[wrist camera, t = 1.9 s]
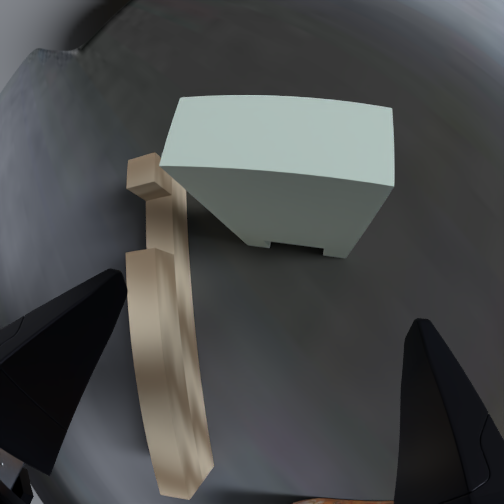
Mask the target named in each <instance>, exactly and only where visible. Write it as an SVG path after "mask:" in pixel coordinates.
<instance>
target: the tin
mask: <svg viewBox="0 0 504 504" xmlns="http://www.w3.org/2000/svg"><path fill="white" fill-rule="evenodd" d="M393 503H394V501H361V500H343V499H331V498H314V499H306V500H301V501H297V502H294V503H292V504H393Z"/></svg>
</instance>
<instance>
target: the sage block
mask: <svg viewBox="0 0 504 504" xmlns="http://www.w3.org/2000/svg"><path fill="white" fill-rule="evenodd" d="M159 166H160V167H161V168H162V169H163V170H164V171H165V172H166V173H168V174H169V175H170V176H171V177H172V178H173V179H174V180H175V181H177V182H178V183H179V184H180V185H181V186H182V187H183V188H184V189H185V190H187V191H188V192H189V193H190V194H191V195H192V196H193V197H194V198H195V199H197V200H198V201H199V202H200V203H201V204H202V205H203V206H204V207H206V208H207V209H208V210H209V211H210V212H211V213H212V214H213V215H214V216H216V217H217V218H218V219H219V220H220V221H221V222H222V223H223V224H224V225H226V226H227V227H228V228H229V229H230V230H231V231H232V232H233V233H235V234H236V235H237V236H238V237H239V238H240V239H241V240H242V241H243V242H245V243H246V244H247V245H249V246H256V247H264V248H270V244H271V242H279V243H286V244H294V245H301V246H309V247H316V248H324V251H323V256H331V257H338V258H345V259H346V257H347V256H348V254H349V253H350V252H351V250H352V249H353V247H354V246H355V245H356V243H357V242H358V240H359V239H360V237H361V236H362V234H363V233H364V232H365V230H366V229H367V227H368V226H369V224H370V223H371V221H372V220H373V218H374V217H375V215H376V214H377V212H378V211H379V209H380V208H381V206H382V205H383V203H384V202H385V200H386V199H387V197H388V195H389V194H390V192H391V191H392V189H393V188H394V134H393V116H392V108H387V107H381V106H375V105H369V104H362V103H355V102H347V101H339V100H329V99H319V98H306V97H290V96H265V95H225V96H199V97H183V98H180V100H179V103H178V106H177V109H176V112H175V115H174V118H173V121H172V124H171V127H170V130H169V134H168V137H167V140H166V143H165V147H164V150H163V154H162V157H161V160H160V164H159Z"/></svg>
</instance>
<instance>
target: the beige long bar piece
mask: <svg viewBox="0 0 504 504" xmlns="http://www.w3.org/2000/svg"><path fill="white" fill-rule="evenodd" d="M160 160H161V158H160V157H159V156H158V155H157V154H156V153H151V154H148V155H144V156H141V157H138V158H134V159H131V160H128V170H127V189H128V190H129V191H131V192H132V193H134V194H136V195H137V196H139V197H140V198H142V199H144V200H145V201H146V247H147V249H145V250H139V251H133V252H127V253H126V278H127V289H128V294H127V297H128V312H129V324H130V335H131V344H132V353H133V361H134V369H135V376H136V383H137V389H138V396H139V402H140V407H141V413H142V418H143V423H144V428H145V433H146V438H147V443H148V447H149V451H150V456H151V460H152V464H153V468H154V472H155V476H156V479H157V483H158V487H159V490H160V494H161V495H165V496H170V497H176V498H182V499H188V500H190V499H191V497H192V496H193V495H194V493H195V492H196V490H197V489H198V488H199V486H200V485H201V484H202V482H203V481H204V479H205V478H206V477H207V475H208V474H209V472H210V471H211V470H212V468H213V467H214V462H213V457H212V451H211V445H210V439H209V433H208V426H207V420H206V413H205V406H204V399H203V392H202V384H201V376H200V368H199V360H198V351H197V342H196V333H195V323H194V312H193V301H192V289H191V276H190V262H189V246H188V228H187V205H186V190H185V189H184V188H183V187H182V186H181V185H180V184H179V183H178V182H177V181H175V180H174V179H173V178H172V177H171V176H170V175H169V174H168V173H166V172H165V171H164V170H163V169H162V168H161V167H160V166H159V164H160Z"/></svg>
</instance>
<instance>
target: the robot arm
mask: <svg viewBox="0 0 504 504" xmlns="http://www.w3.org/2000/svg"><path fill="white" fill-rule="evenodd" d="M127 294H128V289H127V286H126V283H125V280H124V277H123V275H122V273H121V271H119V270H115V269H107V270H106V271H104V272H102V273H100V274H98V275H96V276H94V277H92V278H91V279H89V280H87V281H85V282H83V283H81V284H80V285H78V286H76V287H74V288H72V289H70V290H69V291H67V292H65V293H63V294H61V295H60V296H58V297H56V298H54V299H53V300H51V301H49V302H47V303H46V304H44V305H42V306H40V307H39V308H37V309H35V310H33V311H32V312H30V313H28V314H26V315H25V316H23V317H21V318H20V319H18V320H16V321H15V322H13V323H11V324H9V325H8V326H6V327H4V328H2V329H0V504H30V503H31V501H32V499H33V497H34V496H33V492H32V489H31V485H30V480H29V476H28V471H27V469H26V468H25V467H24V464H25V463H26V464H27V465H29V466H31V467H33V468H35V469H36V470H38V471H40V472H42V473H44V474H46V475H48V476H50V474H51V472H52V469H53V467H54V464H55V461H56V458H57V456H58V453H59V450H60V448H61V445H62V443H63V440H64V438H65V435H66V433H67V430H68V427H69V425H70V423H71V420H72V418H73V415H74V413H75V411H76V408H77V406H78V404H79V401H80V399H81V397H82V395H83V393H84V390H85V388H86V386H87V384H88V382H89V379H90V377H91V375H92V373H93V371H94V369H95V367H96V365H97V362H98V360H99V358H100V356H101V354H102V352H103V350H104V348H105V346H106V344H107V342H108V340H109V338H110V336H111V334H112V332H113V329H114V327H115V324H116V322H117V319H118V317H119V314H120V312H121V309H122V307H123V305H124V302H125V300H126V297H127ZM393 504H504V439H503V438H502V436H501V434H500V432H499V431H498V429H497V427H496V425H495V423H494V422H493V420H492V418H491V416H490V414H488V411H487V409H486V407H485V406H484V404H483V402H482V400H481V399H480V397H479V395H478V393H477V392H476V390H475V388H474V387H473V385H472V383H471V382H470V380H469V379H468V377H467V375H466V374H465V372H464V370H463V369H462V367H461V366H460V364H459V363H458V361H457V360H456V358H455V356H454V355H453V353H452V352H451V350H450V349H449V347H448V346H447V344H446V343H445V341H444V340H443V338H442V337H441V336H440V334H439V333H438V331H437V330H436V328H435V327H434V325H433V324H432V323H431V321H430V320H428V319H421V318H417V319H415V320H414V322H413V324H412V326H411V328H410V330H409V332H408V334H407V336H406V338H405V342H404V357H403V370H402V381H401V403H400V440H399V456H398V468H397V479H396V488H395V496H394V503H393Z"/></svg>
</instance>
